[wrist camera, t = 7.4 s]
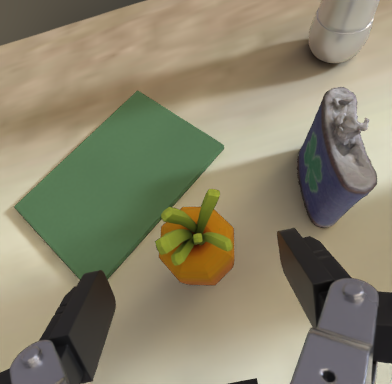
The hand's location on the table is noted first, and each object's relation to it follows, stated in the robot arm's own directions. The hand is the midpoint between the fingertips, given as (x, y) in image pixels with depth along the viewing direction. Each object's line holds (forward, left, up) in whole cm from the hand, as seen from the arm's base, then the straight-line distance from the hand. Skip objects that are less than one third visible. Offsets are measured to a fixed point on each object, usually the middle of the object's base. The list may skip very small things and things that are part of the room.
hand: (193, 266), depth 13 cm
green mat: (+16, -2, -14) cm, 21 cm away
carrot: (+2, -1, -14) cm, 15 cm away
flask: (-1, -14, -14) cm, 20 cm away
